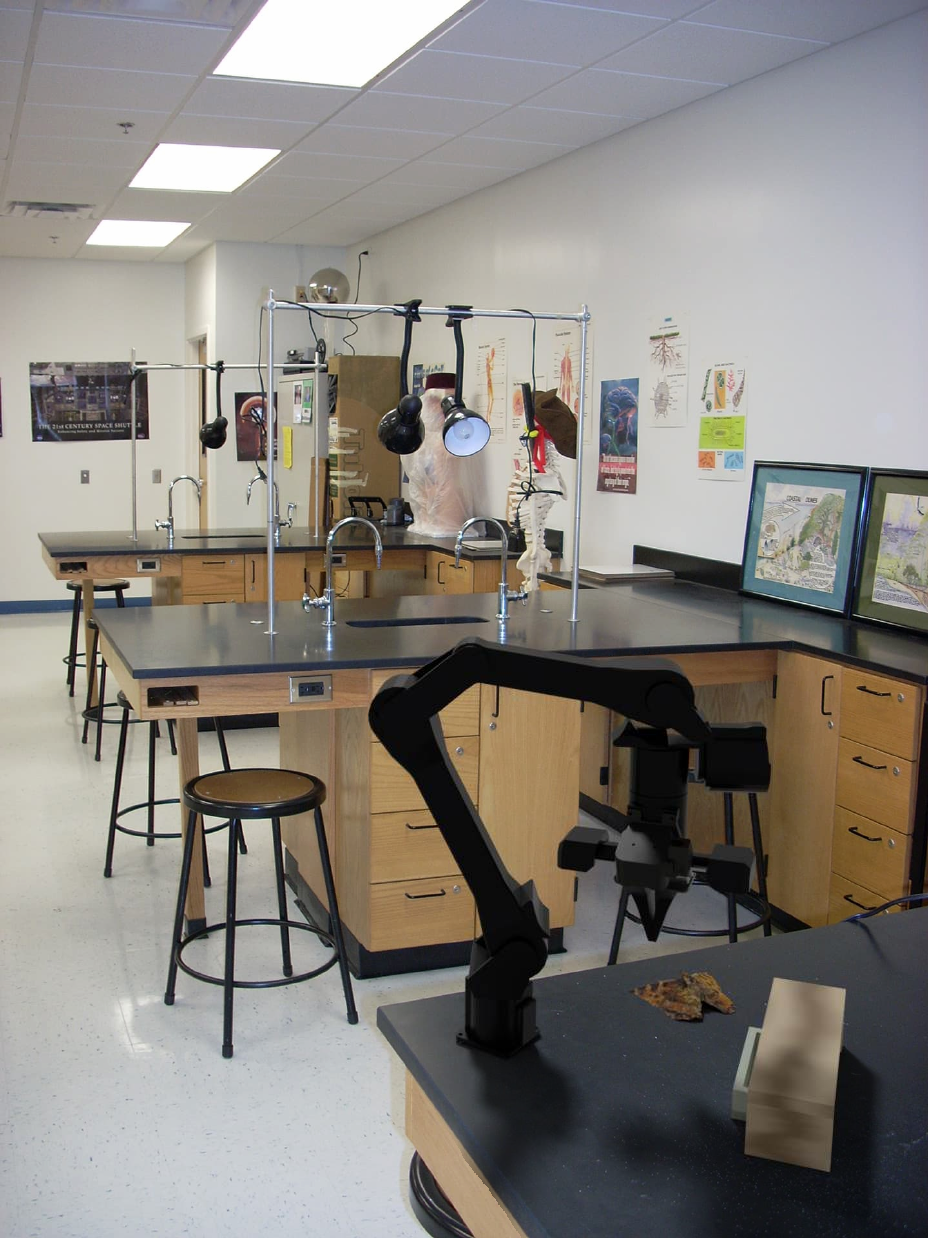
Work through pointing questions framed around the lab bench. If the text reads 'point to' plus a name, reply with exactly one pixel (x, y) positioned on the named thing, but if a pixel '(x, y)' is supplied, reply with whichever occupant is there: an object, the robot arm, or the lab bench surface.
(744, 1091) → the tray
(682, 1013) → the butterfly model
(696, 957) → the lab bench surface
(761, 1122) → the tan rectangular block
